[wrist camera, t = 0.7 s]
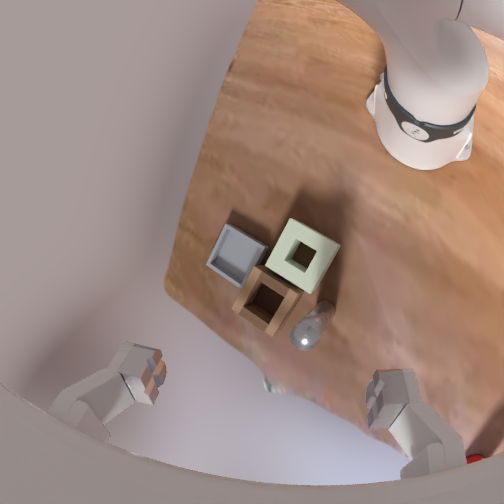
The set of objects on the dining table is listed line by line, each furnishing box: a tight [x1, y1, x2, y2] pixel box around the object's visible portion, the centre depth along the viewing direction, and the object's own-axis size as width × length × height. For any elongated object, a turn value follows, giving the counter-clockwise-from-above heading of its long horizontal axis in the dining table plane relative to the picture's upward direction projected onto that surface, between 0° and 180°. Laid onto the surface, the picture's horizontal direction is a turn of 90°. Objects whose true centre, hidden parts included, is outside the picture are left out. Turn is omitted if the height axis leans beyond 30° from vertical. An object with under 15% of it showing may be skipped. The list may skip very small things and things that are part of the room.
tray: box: [206, 224, 269, 289], centre depth 49 cm, size 8×8×2 cm
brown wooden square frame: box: [232, 264, 304, 337], centre depth 46 cm, size 8×8×4 cm
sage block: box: [265, 218, 341, 294], centre depth 43 cm, size 8×8×4 cm
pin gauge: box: [290, 300, 335, 350], centre depth 38 cm, size 3×3×14 cm
